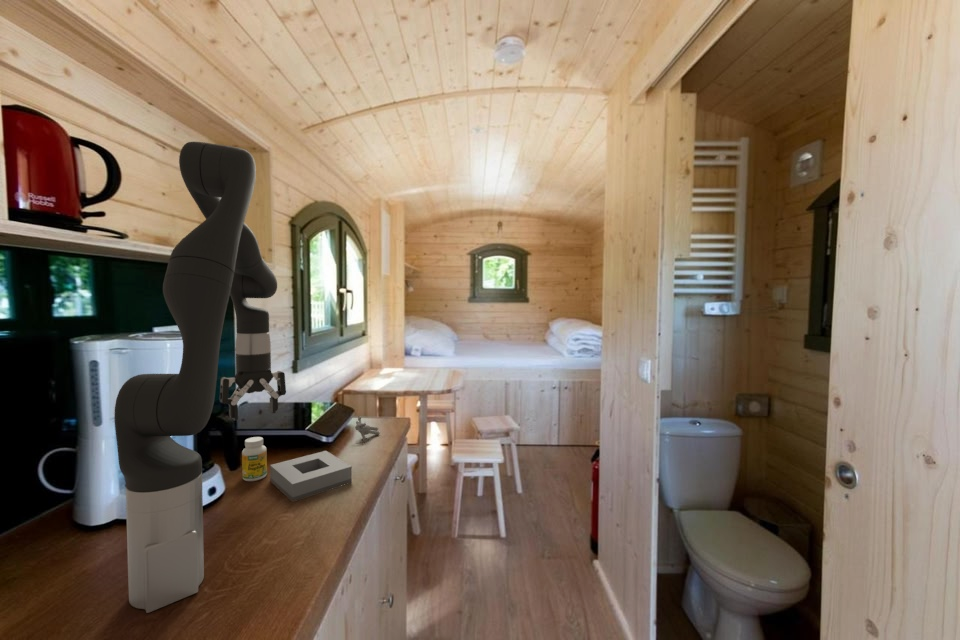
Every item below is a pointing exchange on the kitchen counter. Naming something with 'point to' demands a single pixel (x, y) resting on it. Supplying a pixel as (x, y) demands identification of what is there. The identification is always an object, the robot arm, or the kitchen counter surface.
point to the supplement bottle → (254, 459)
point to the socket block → (310, 475)
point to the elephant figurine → (365, 429)
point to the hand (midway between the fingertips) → (254, 416)
